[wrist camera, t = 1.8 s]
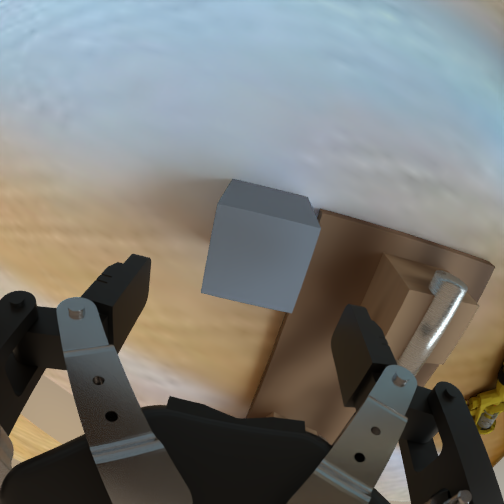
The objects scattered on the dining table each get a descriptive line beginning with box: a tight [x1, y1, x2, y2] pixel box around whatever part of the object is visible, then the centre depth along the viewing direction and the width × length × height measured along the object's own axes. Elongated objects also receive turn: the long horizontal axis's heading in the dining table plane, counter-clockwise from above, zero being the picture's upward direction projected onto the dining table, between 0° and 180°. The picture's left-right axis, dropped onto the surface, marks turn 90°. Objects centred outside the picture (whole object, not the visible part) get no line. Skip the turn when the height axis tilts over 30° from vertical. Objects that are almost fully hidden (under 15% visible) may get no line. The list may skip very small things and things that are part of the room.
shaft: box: [396, 270, 468, 376], centre depth 18 cm, size 2×9×2 cm, turn 167°
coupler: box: [201, 179, 321, 313], centre depth 19 cm, size 5×5×6 cm
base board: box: [246, 209, 495, 444], centre depth 24 cm, size 16×28×6 cm, turn 167°
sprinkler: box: [465, 362, 504, 435], centre depth 26 cm, size 19×4×15 cm
